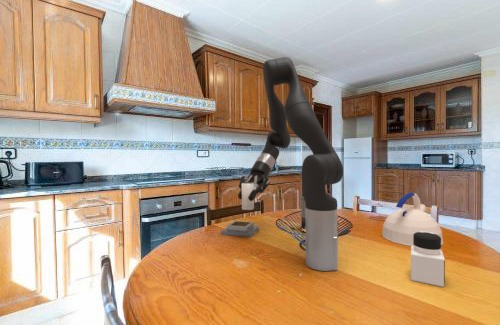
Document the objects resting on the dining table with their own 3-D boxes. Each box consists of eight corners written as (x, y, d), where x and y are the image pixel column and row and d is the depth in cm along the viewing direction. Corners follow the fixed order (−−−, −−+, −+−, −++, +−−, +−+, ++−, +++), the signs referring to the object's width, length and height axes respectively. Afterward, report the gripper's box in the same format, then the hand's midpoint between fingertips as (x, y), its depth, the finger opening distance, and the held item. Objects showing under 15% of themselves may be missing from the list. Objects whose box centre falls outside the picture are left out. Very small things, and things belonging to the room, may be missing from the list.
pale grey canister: (255, 207, 103) (255, 181, 103) (251, 210, 99) (251, 182, 98) (244, 206, 105) (244, 181, 104) (240, 209, 100) (239, 182, 100)
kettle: (452, 240, 99) (453, 193, 98) (429, 252, 87) (429, 198, 86) (397, 228, 115) (397, 187, 115) (371, 237, 104) (371, 192, 103)
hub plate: (259, 229, 116) (259, 221, 116) (250, 237, 105) (249, 228, 105) (232, 226, 121) (232, 219, 121) (221, 234, 109) (221, 226, 109)
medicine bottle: (444, 287, 64) (445, 239, 63) (410, 280, 68) (410, 235, 67) (442, 276, 70) (442, 232, 69) (410, 270, 74) (411, 228, 73)
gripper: (246, 160, 111) (226, 191, 103) (273, 160, 102) (254, 195, 93) (254, 171, 115) (235, 202, 107) (281, 172, 106) (263, 207, 98)
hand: (244, 198), depth 100 cm, fingers closed on pale grey canister, 4 cm apart
